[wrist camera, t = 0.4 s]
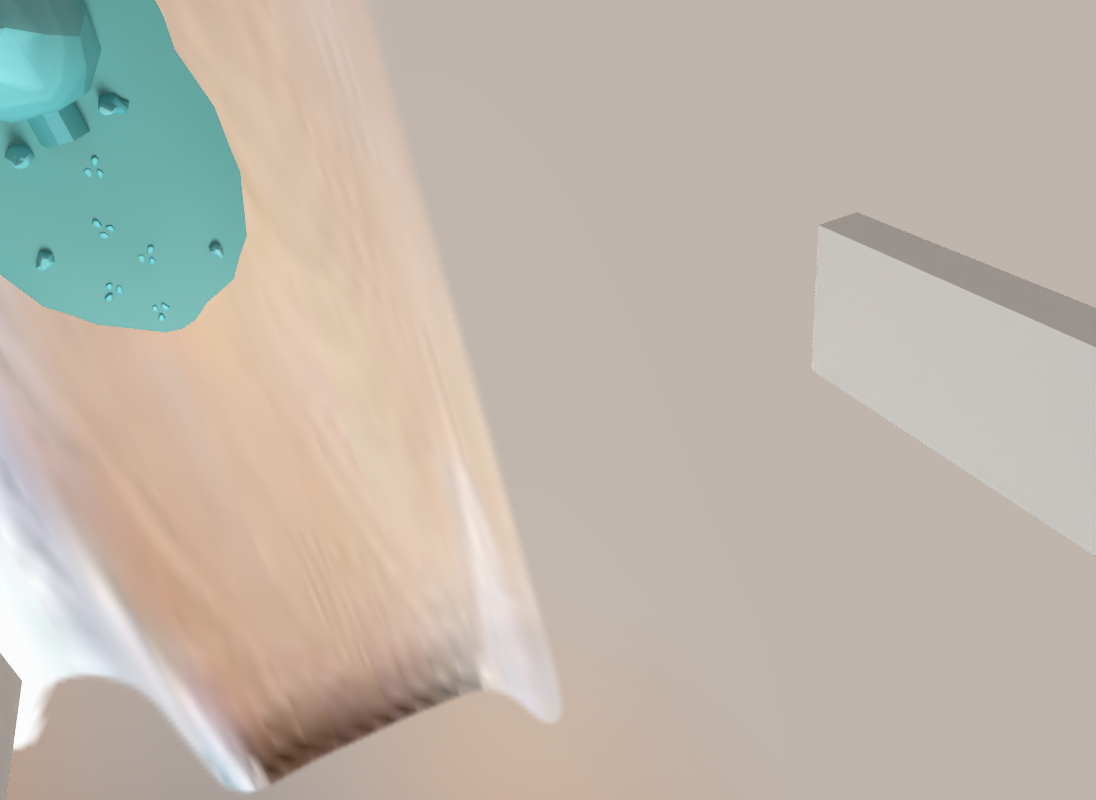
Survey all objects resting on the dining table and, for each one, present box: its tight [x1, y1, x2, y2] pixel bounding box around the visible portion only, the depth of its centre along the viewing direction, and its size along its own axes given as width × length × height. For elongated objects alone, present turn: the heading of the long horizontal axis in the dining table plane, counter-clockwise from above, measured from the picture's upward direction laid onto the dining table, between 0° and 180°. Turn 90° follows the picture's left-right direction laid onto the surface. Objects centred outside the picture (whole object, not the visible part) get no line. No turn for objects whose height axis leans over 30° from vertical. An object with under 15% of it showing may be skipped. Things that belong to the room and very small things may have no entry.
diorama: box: [0, 0, 247, 332], centre depth 28 cm, size 12×20×9 cm, turn 15°
